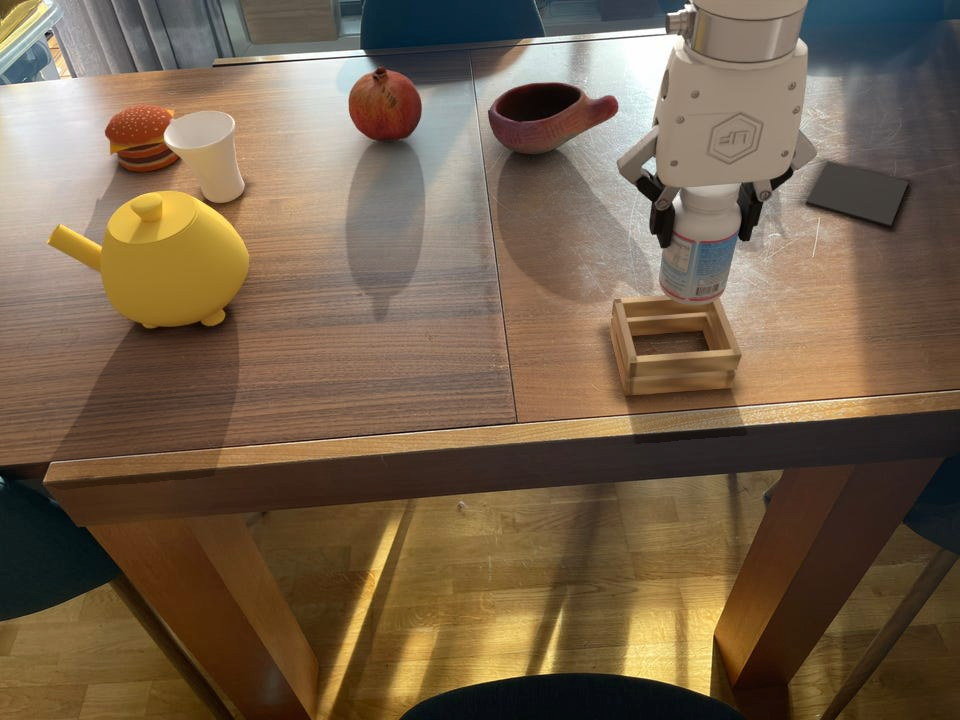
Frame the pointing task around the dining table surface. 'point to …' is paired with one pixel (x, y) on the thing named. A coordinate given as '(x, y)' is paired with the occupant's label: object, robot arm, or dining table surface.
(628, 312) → the crate
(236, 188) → the cup
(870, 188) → the plate
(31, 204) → the dining table surface
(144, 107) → the hamburger
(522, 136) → the bowl
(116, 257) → the teapot
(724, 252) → the pill bottle
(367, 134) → the fruit
